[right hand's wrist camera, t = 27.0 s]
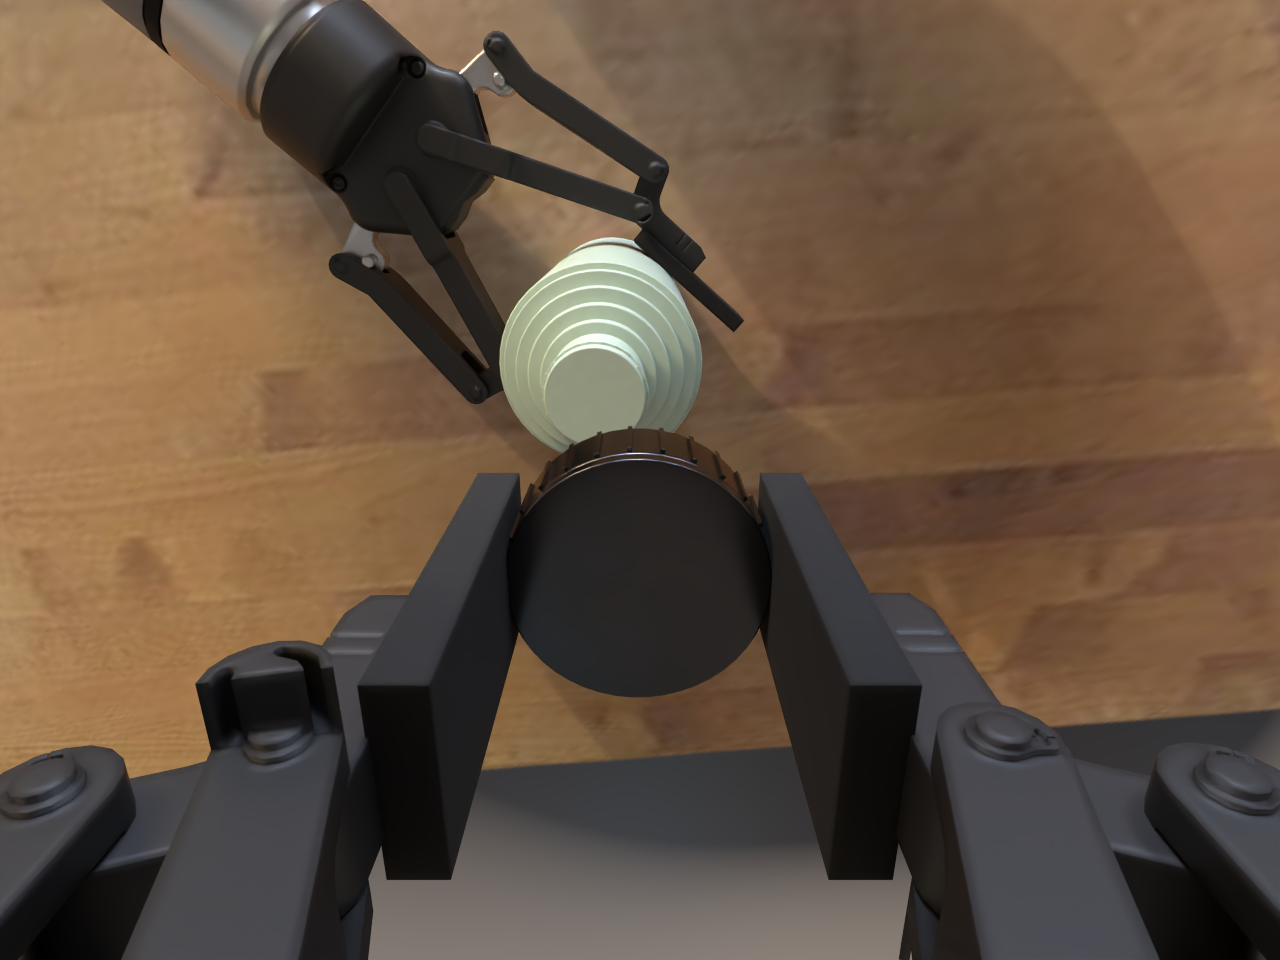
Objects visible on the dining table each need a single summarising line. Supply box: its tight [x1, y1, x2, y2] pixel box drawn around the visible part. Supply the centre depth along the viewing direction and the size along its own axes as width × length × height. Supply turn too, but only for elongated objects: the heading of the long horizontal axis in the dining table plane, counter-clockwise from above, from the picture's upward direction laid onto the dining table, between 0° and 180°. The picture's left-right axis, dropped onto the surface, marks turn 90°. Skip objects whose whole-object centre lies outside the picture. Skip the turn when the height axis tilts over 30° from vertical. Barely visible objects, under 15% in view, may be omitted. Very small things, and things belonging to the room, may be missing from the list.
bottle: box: [499, 237, 702, 454], centre depth 35 cm, size 8×8×22 cm
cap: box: [506, 426, 772, 697], centre depth 14 cm, size 5×5×2 cm
